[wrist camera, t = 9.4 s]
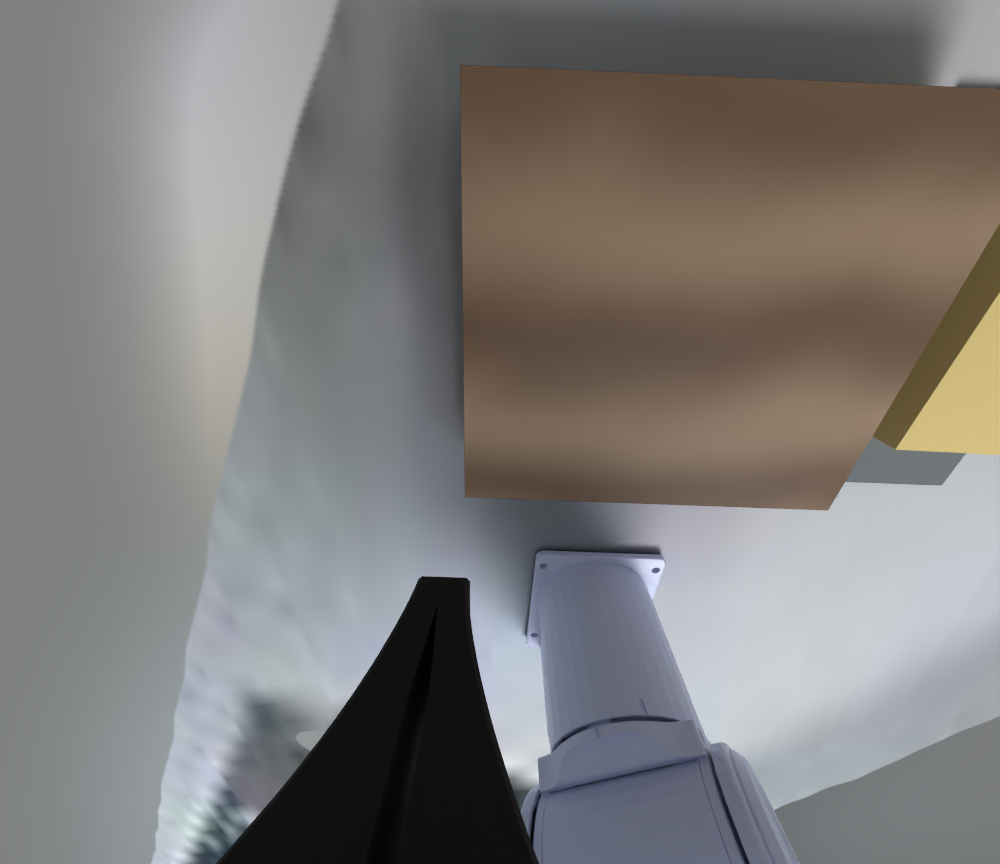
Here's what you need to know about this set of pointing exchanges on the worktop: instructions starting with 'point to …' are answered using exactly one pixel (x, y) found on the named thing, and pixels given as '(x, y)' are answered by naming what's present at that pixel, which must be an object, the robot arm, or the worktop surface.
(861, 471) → the mat
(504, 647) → the worktop surface
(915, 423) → the pale yellow rectangular block
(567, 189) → the board
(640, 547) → the worktop surface
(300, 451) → the worktop surface
